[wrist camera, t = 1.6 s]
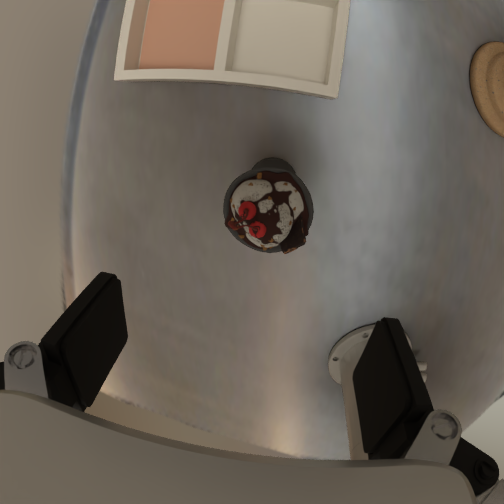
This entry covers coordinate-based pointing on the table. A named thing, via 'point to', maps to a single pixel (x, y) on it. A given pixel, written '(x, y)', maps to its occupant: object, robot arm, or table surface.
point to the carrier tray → (236, 43)
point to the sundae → (269, 208)
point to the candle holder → (489, 84)
